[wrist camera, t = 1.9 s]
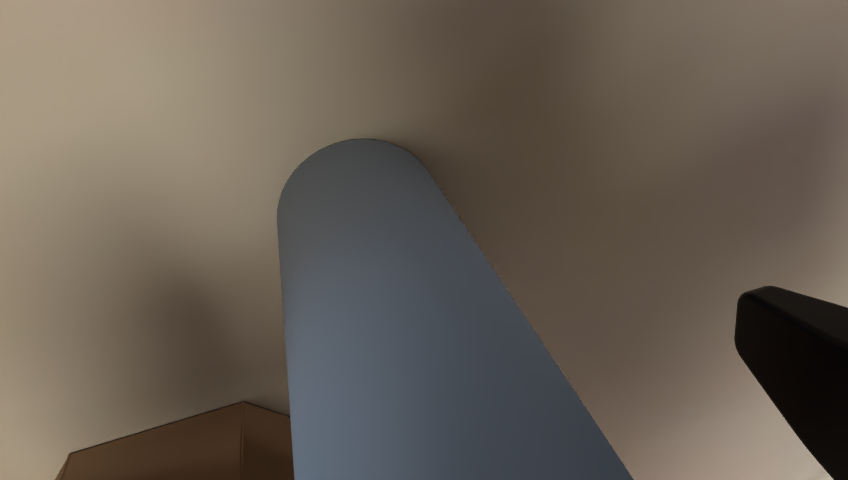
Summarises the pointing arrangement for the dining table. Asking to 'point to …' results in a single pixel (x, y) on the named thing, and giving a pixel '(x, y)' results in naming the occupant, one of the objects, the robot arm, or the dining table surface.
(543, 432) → the tapered blue cylinder
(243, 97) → the dining table surface
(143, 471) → the bead
